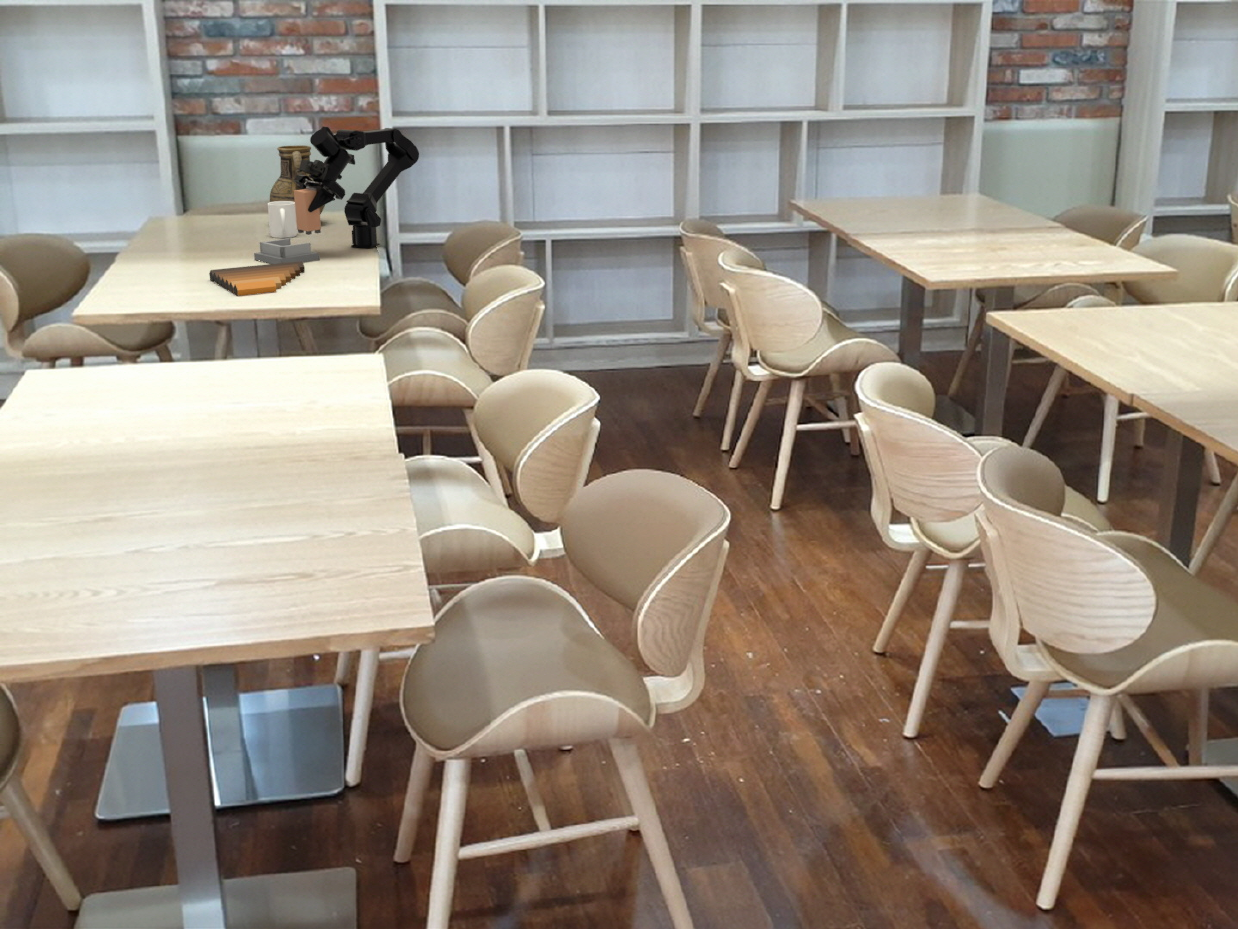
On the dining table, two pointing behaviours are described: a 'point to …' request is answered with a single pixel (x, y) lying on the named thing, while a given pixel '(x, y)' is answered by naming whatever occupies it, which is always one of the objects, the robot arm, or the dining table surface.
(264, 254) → the dock
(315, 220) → the peach block
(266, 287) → the pan flute
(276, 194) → the decorative pitcher
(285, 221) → the mug
